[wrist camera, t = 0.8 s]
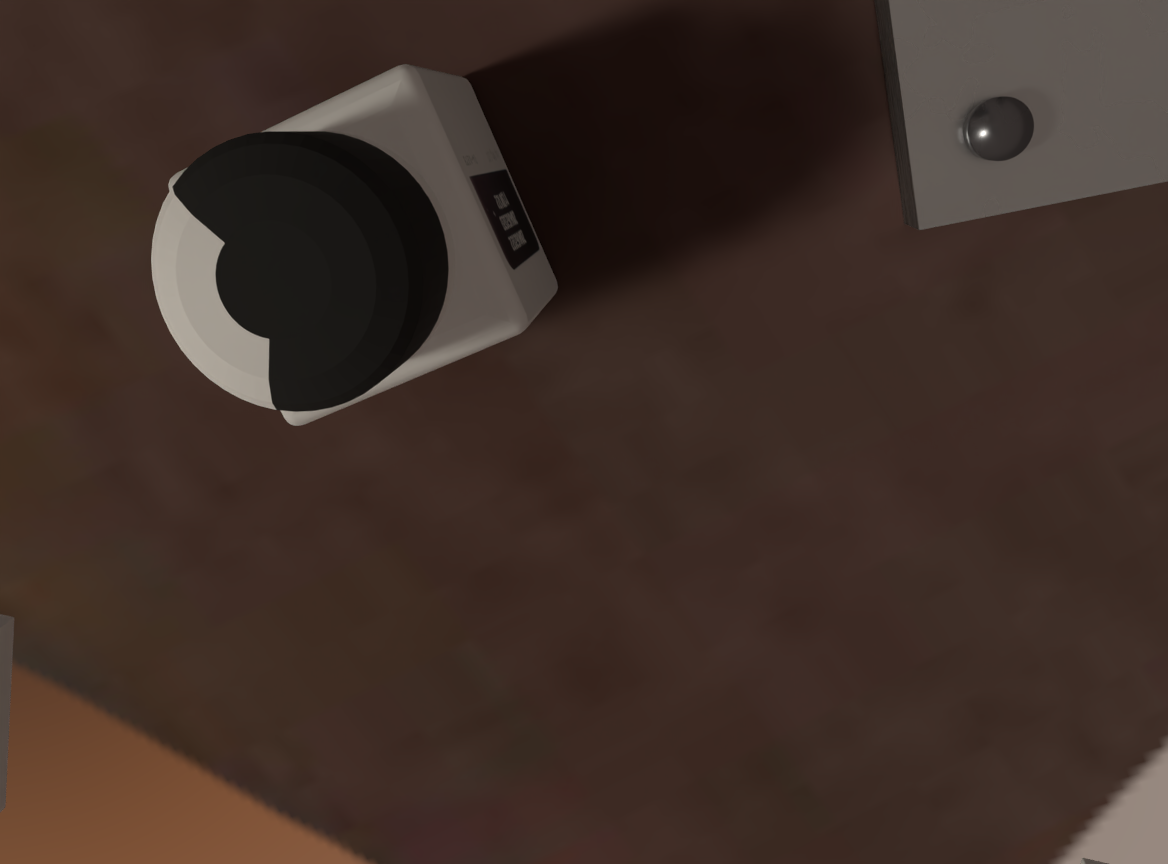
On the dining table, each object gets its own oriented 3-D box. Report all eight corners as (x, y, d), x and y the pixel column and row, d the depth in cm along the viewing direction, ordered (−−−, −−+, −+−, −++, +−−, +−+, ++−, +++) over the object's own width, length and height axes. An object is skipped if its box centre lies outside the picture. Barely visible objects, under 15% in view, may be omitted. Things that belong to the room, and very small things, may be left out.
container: (467, 72, 36) (346, 42, 23) (563, 291, 37) (497, 372, 25) (264, 169, 37) (47, 189, 25) (364, 375, 39) (208, 491, 26)
